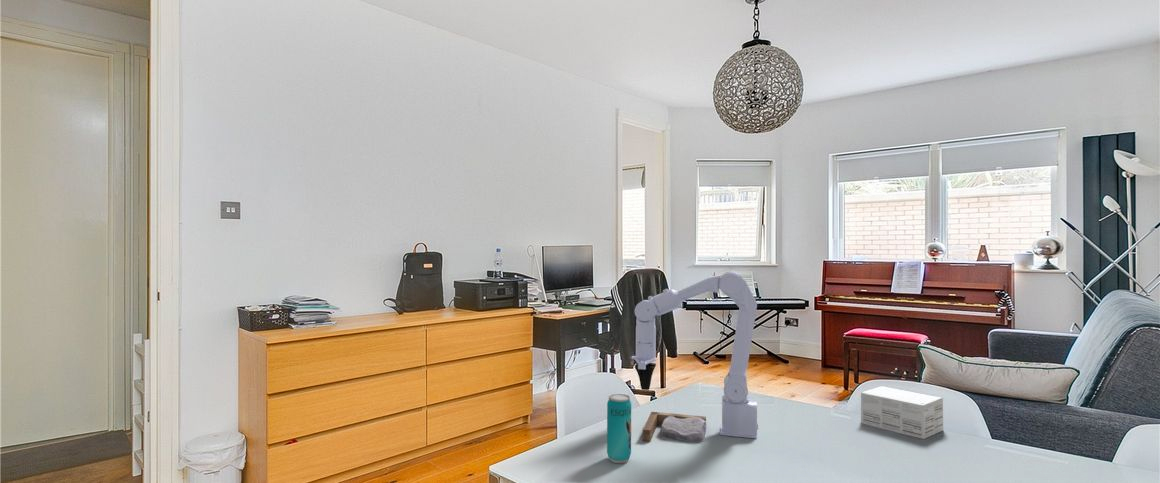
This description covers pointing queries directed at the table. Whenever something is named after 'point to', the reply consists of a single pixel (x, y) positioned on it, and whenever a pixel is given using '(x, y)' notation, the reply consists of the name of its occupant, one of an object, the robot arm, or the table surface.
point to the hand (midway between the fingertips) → (645, 389)
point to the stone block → (684, 428)
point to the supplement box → (902, 411)
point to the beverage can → (619, 428)
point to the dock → (660, 422)
